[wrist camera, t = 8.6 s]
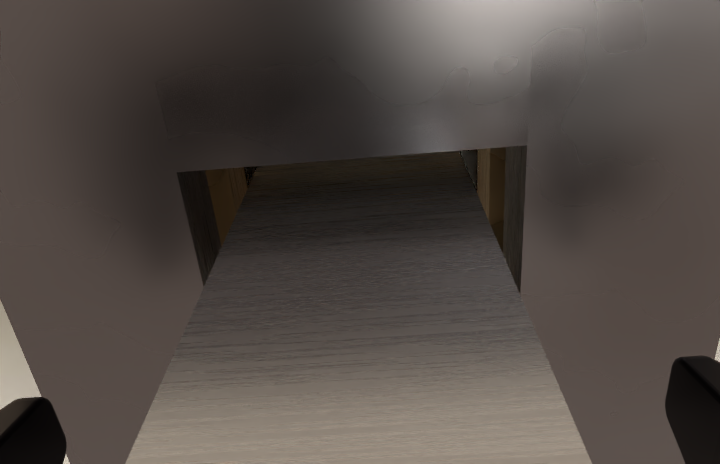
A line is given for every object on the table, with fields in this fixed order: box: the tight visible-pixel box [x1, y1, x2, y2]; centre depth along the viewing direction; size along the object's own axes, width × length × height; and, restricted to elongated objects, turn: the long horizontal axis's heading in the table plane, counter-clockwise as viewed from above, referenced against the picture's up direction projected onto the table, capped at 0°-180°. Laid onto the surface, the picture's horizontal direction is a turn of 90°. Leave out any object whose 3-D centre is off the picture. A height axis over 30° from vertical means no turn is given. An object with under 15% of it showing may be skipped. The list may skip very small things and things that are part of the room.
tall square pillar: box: [125, 151, 592, 464], centre depth 10 cm, size 4×4×11 cm
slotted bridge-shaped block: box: [0, 0, 720, 464], centre depth 13 cm, size 13×12×4 cm
